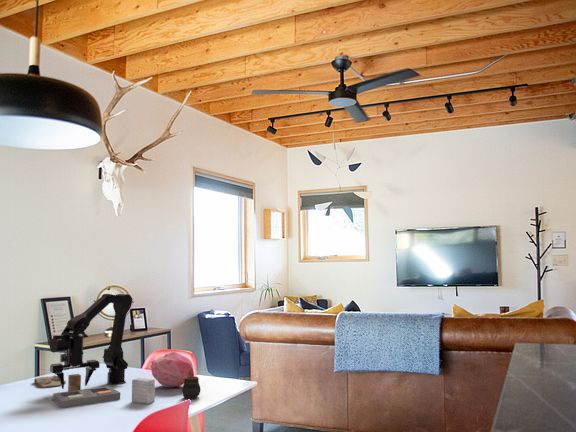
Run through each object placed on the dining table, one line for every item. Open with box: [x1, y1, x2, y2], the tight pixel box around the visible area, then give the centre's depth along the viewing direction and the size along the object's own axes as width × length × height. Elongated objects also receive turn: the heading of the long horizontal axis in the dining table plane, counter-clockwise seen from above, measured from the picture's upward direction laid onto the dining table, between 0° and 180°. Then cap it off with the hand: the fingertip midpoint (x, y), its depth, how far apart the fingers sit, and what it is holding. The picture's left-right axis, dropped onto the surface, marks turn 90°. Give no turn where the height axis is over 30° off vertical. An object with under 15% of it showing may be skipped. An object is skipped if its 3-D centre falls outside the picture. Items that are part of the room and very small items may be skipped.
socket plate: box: [52, 385, 121, 409], centre depth 211 cm, size 22×14×3 cm, turn 126°
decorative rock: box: [150, 351, 195, 389], centre depth 233 cm, size 19×14×15 cm
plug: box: [67, 373, 82, 392], centre depth 223 cm, size 4×4×7 cm
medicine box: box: [131, 377, 156, 405], centre depth 208 cm, size 8×4×9 cm, turn 65°
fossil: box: [33, 374, 67, 389], centre depth 237 cm, size 11×15×4 cm
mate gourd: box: [181, 371, 202, 400], centre depth 215 cm, size 7×8×10 cm
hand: (74, 387), depth 223 cm, fingers open, 9 cm apart
